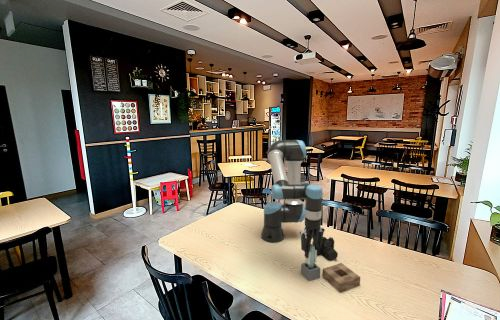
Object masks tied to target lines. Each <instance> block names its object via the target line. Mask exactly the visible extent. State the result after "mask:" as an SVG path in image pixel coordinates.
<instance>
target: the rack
mask: <svg viewBox="0 0 500 320" xmlns="http://www.w3.org/2000/svg"><path fill="white" fill-rule="evenodd" d="M321 274H322V278H323V279H325V281H327V283H329V284H330V285H331V286H332V287H333V288H334V289H335V290H337V291H338V292H339V294H341V293H343V292H346V291H349V290H351V289H353V288H357V287H359V286H360V285H361V276H360V275H358V274H357V273H356V272H354V271H353V270H352V269H350V268H349V267H348V266H346V265H345V264H343V262H340V263H337V264H333V265H330V266H327V267H324V268H322V273H321Z"/></svg>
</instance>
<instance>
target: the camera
mask: <svg viewBox="0 0 500 320" xmlns="http://www.w3.org/2000/svg"><path fill="white" fill-rule="evenodd" d="M311 244H313V241H311ZM319 249H320V250H319V251H318V254H317V256H323V257H325V258H327V260H329V261H331V262H333V261H335V260H336V259H337V258H338V255H339V254H338V252H337V250H336V249H335V239H334V238H333V237H332V236H330V237H328V238H327V237H325V236H323V239H322V247H321V248H319Z"/></svg>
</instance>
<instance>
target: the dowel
mask: <svg viewBox="0 0 500 320" xmlns="http://www.w3.org/2000/svg"><path fill="white" fill-rule="evenodd" d="M310 252H311V257H310V265H309V264H308V267H307V268H308V269H309V270H311V269H314V263H315V262H314V252H315V245H313V244H312V243H311V245H310Z"/></svg>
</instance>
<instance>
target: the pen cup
mask: <svg viewBox="0 0 500 320" xmlns="http://www.w3.org/2000/svg"><path fill="white" fill-rule="evenodd" d="M307 267H308V263H307V262H306V261H305V262H304V263H301V264H300V274H301V275H302V276H303V277H304V278H305V279H306V280H307V281H308V282H311V281H314V280H317V279H320V278H321V267H320V266H319V265H318V264H316V263H315V262H314V269H311V270H309V269H308V268H307Z"/></svg>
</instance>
